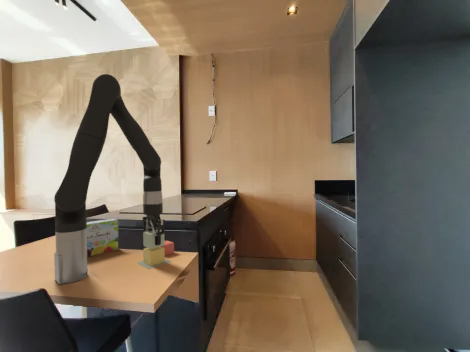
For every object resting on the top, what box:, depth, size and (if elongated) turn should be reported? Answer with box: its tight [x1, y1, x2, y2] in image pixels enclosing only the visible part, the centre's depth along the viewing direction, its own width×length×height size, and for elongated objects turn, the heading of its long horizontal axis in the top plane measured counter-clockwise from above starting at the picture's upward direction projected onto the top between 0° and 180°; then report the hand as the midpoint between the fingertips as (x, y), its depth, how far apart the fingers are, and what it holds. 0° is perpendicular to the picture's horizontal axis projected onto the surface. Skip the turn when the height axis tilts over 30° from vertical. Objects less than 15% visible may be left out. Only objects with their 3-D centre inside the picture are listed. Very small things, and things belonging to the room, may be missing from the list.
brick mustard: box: [142, 247, 166, 266], centre depth 98 cm, size 6×6×6 cm
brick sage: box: [142, 230, 165, 249], centre depth 98 cm, size 6×6×6 cm
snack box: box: [87, 218, 119, 258], centre depth 112 cm, size 21×6×15 cm, turn 143°
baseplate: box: [136, 258, 172, 270], centre depth 98 cm, size 10×10×1 cm
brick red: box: [160, 240, 175, 256], centre depth 110 cm, size 6×6×6 cm
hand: (153, 243), depth 98 cm, fingers closed on brick sage, 6 cm apart
